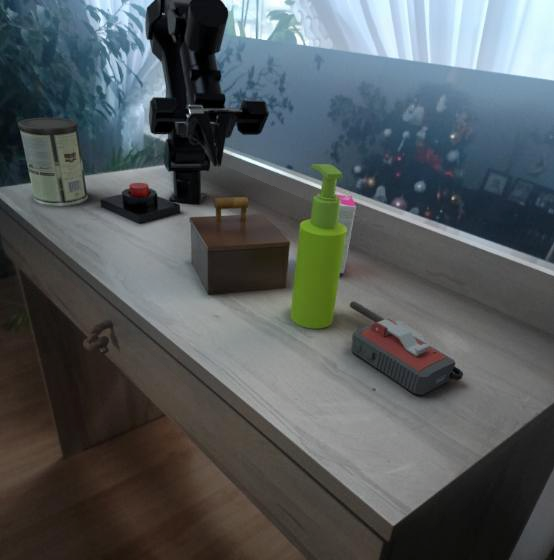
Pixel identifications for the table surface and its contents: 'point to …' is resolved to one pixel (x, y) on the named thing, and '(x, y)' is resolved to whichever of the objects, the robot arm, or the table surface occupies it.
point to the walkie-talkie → (402, 353)
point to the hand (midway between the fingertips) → (217, 165)
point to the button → (139, 189)
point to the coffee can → (54, 160)
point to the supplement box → (346, 223)
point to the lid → (237, 228)
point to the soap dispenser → (319, 256)
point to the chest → (239, 267)
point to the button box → (140, 206)
